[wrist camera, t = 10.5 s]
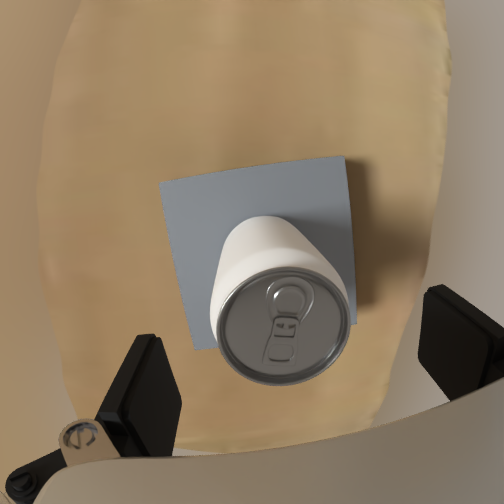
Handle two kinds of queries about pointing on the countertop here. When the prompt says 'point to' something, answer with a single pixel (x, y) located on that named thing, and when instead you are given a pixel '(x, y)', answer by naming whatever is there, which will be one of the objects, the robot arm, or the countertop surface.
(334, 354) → the can
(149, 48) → the countertop surface
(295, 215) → the base block
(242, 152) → the countertop surface
